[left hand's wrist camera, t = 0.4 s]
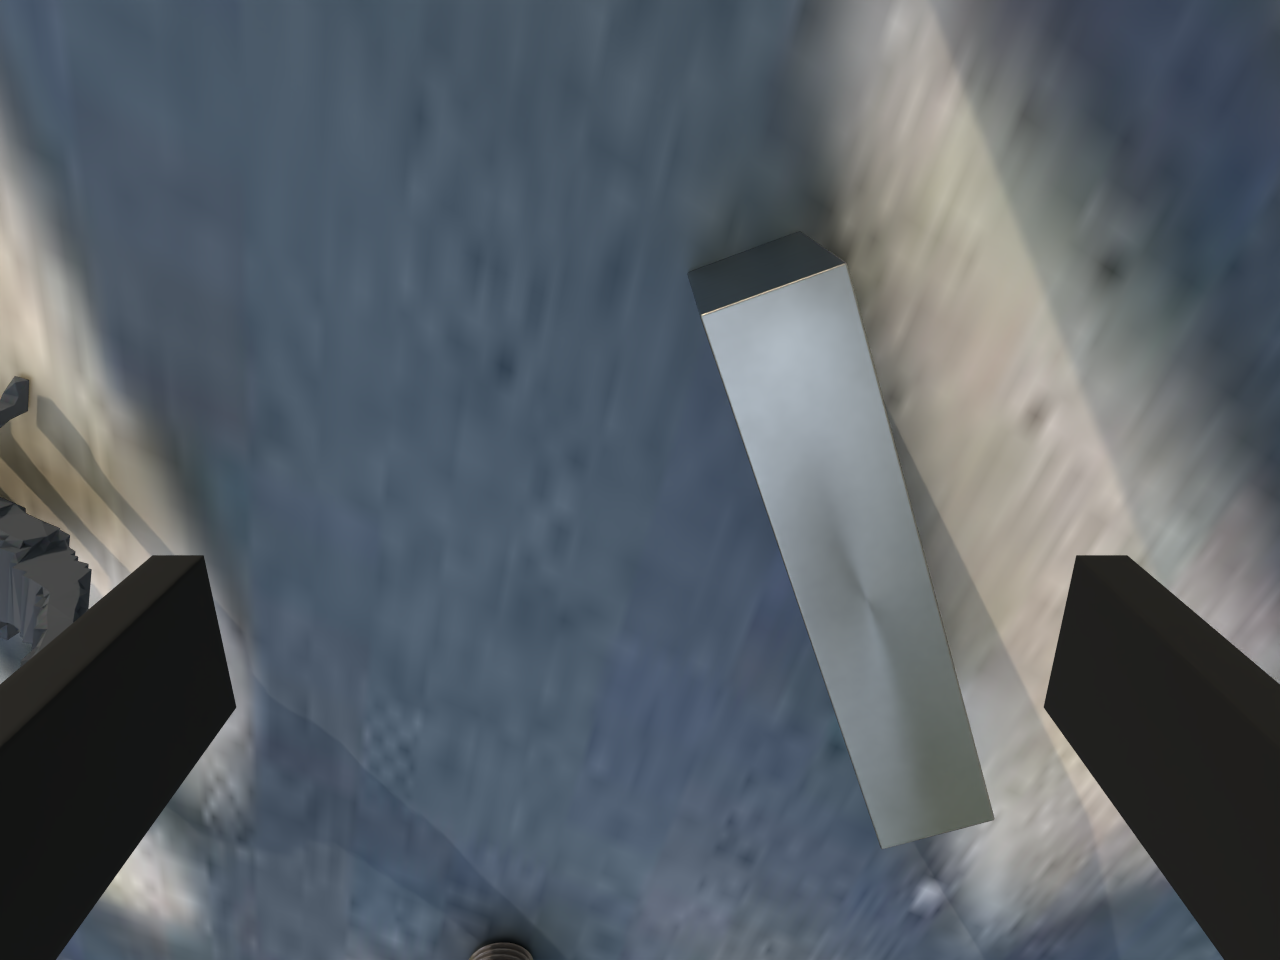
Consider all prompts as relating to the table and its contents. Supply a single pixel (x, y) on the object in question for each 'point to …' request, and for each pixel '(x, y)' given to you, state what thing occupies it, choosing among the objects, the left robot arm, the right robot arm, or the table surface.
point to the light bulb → (501, 952)
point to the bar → (845, 528)
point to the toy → (36, 563)
